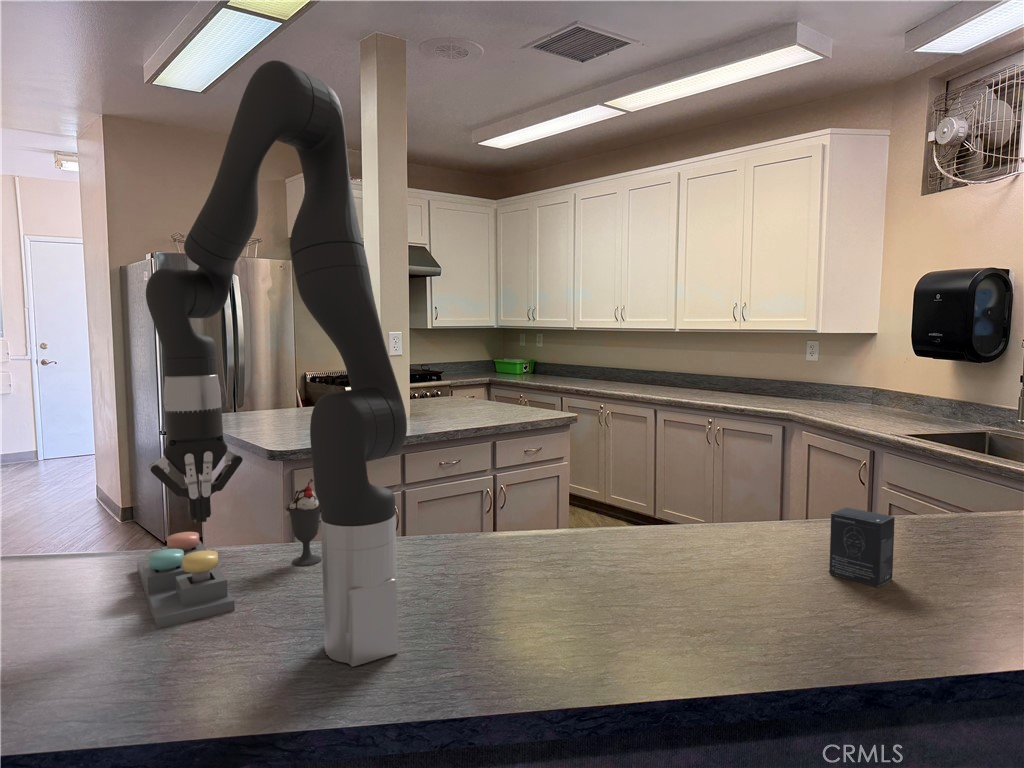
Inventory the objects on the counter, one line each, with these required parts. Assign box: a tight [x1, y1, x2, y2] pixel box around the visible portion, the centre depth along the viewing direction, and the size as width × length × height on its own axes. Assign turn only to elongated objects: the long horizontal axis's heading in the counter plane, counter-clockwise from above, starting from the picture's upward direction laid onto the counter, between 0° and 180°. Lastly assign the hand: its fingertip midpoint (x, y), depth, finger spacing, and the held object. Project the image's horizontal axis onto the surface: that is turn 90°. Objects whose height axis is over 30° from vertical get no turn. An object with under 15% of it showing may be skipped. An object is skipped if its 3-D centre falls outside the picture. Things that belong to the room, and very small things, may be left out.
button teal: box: [148, 549, 184, 572], centre depth 101 cm, size 5×5×4 cm
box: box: [828, 507, 896, 588], centre depth 107 cm, size 8×6×11 cm
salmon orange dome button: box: [166, 531, 200, 552], centre depth 110 cm, size 5×5×4 cm
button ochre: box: [182, 549, 219, 584], centre depth 97 cm, size 5×5×4 cm
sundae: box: [284, 478, 322, 567], centre depth 114 cm, size 7×7×15 cm
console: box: [136, 540, 236, 629], centre depth 103 cm, size 26×10×4 cm, turn 35°
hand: (200, 521), depth 97 cm, fingers closed
